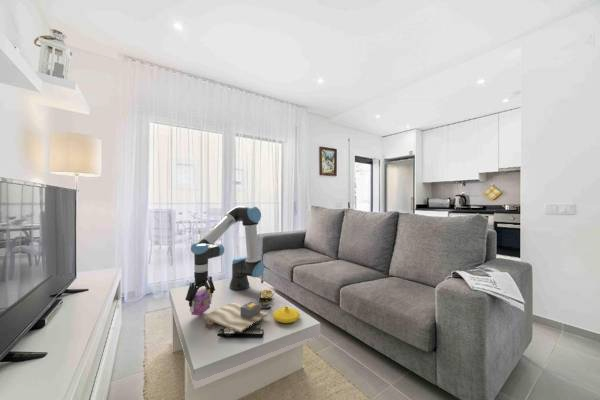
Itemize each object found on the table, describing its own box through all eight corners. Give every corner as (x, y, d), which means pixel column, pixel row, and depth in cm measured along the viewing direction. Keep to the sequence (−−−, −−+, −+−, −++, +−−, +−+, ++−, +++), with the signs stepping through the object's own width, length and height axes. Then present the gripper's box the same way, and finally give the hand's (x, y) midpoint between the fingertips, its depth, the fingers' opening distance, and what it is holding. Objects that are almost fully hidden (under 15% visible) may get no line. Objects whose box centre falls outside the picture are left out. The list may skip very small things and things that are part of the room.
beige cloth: (232, 307, 156) (232, 302, 156) (267, 319, 142) (267, 313, 142) (198, 324, 134) (198, 318, 134) (236, 340, 120) (236, 333, 120)
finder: (250, 309, 146) (250, 300, 146) (260, 312, 142) (260, 303, 143) (240, 315, 138) (240, 306, 138) (250, 318, 135) (250, 309, 135)
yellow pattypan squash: (297, 312, 151) (297, 301, 151) (302, 325, 136) (302, 312, 136) (271, 314, 149) (272, 302, 149) (273, 327, 133) (273, 314, 133)
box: (200, 316, 139) (200, 295, 139) (191, 314, 140) (191, 294, 140) (210, 307, 149) (210, 288, 149) (201, 306, 150) (202, 287, 150)
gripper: (213, 264, 156) (212, 298, 157) (178, 275, 136) (178, 314, 136) (221, 266, 153) (221, 301, 153) (187, 277, 132) (186, 317, 132)
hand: (200, 307), depth 145 cm, fingers closed on box, 11 cm apart
